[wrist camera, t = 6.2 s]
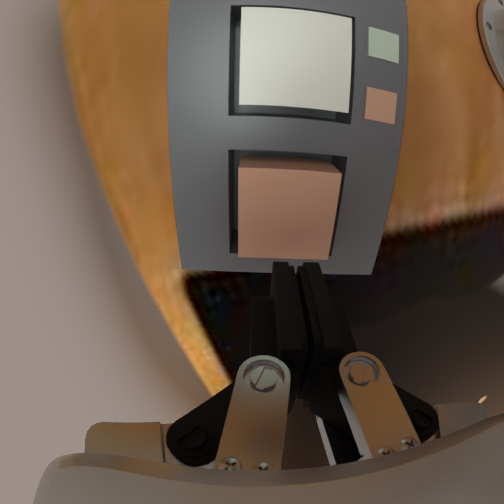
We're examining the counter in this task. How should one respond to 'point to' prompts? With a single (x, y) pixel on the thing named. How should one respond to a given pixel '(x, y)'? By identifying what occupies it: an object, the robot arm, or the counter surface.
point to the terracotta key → (286, 207)
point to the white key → (295, 58)
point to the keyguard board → (281, 130)
